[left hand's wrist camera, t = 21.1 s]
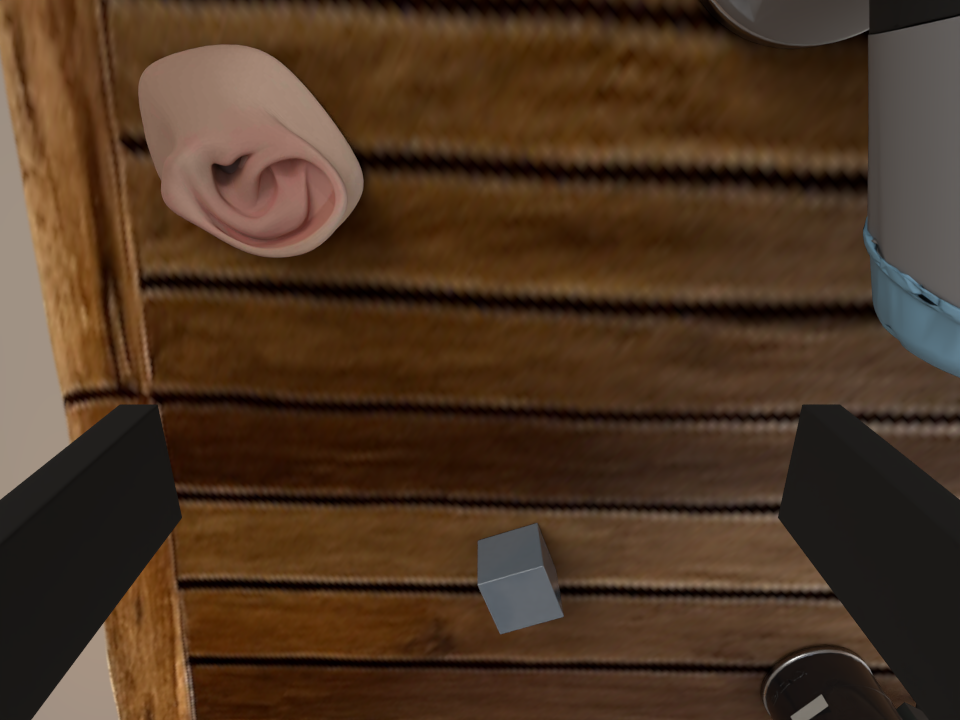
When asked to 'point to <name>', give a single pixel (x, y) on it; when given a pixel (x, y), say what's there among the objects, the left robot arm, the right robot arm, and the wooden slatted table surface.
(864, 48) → the wooden slatted table surface
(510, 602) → the slate cube
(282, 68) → the anatomical model
